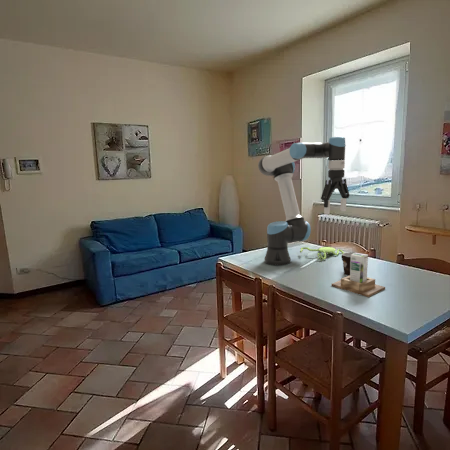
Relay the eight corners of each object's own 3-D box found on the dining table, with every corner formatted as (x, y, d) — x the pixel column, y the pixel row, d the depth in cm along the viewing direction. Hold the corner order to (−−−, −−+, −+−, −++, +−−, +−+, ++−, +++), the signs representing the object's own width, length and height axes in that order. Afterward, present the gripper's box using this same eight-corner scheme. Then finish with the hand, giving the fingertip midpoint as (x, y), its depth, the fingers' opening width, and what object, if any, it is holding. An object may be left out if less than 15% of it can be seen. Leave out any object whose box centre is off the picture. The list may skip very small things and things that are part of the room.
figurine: (295, 256, 205) (295, 247, 204) (325, 249, 219) (325, 241, 218) (318, 263, 189) (318, 253, 188) (348, 255, 203) (349, 246, 202)
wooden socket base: (331, 285, 152) (331, 277, 152) (348, 279, 160) (349, 271, 160) (368, 297, 138) (368, 288, 137) (385, 289, 146) (385, 280, 146)
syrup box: (349, 285, 149) (350, 254, 147) (354, 282, 153) (355, 251, 151) (361, 288, 145) (362, 256, 143) (367, 284, 149) (368, 254, 147)
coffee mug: (361, 276, 163) (362, 257, 162) (342, 276, 165) (343, 256, 163) (356, 269, 174) (357, 251, 173) (339, 269, 176) (340, 250, 174)
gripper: (327, 170, 150) (326, 216, 154) (357, 168, 165) (356, 210, 168) (313, 170, 156) (313, 214, 160) (344, 168, 171) (343, 209, 174)
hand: (335, 212), depth 164 cm, fingers open, 13 cm apart
